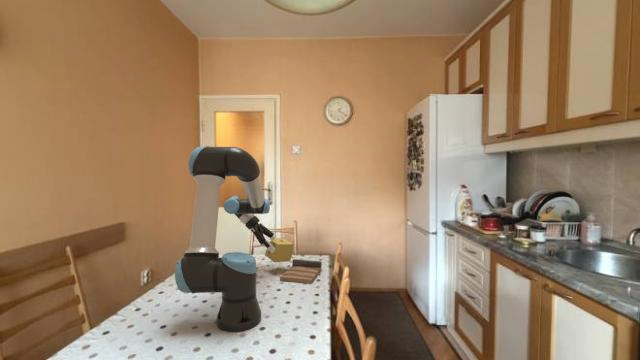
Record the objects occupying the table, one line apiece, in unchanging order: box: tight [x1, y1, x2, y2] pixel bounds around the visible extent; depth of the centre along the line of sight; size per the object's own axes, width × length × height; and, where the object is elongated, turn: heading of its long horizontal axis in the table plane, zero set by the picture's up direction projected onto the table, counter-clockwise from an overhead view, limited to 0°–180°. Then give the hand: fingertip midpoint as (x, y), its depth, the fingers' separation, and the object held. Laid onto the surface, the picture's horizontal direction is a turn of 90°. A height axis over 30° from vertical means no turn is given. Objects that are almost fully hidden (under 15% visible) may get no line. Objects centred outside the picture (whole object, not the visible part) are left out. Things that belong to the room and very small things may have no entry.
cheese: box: [264, 237, 294, 263], centre depth 155 cm, size 10×11×10 cm
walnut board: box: [279, 258, 323, 285], centre depth 149 cm, size 20×16×5 cm
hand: (277, 248), depth 155 cm, fingers closed on cheese, 13 cm apart
